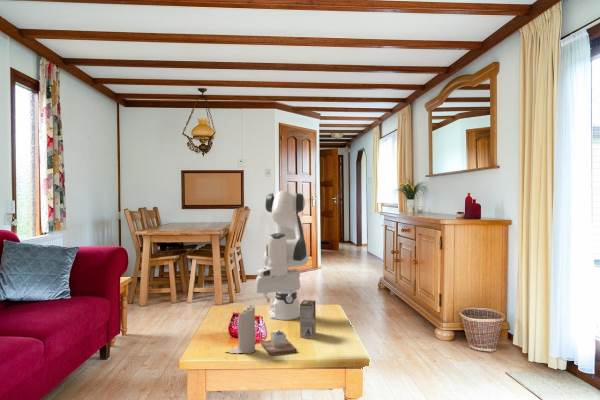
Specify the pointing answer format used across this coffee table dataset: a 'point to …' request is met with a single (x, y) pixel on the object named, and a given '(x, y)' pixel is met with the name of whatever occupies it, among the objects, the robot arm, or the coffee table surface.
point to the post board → (278, 348)
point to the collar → (278, 340)
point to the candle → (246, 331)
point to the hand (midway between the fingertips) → (278, 301)
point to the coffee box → (307, 319)
